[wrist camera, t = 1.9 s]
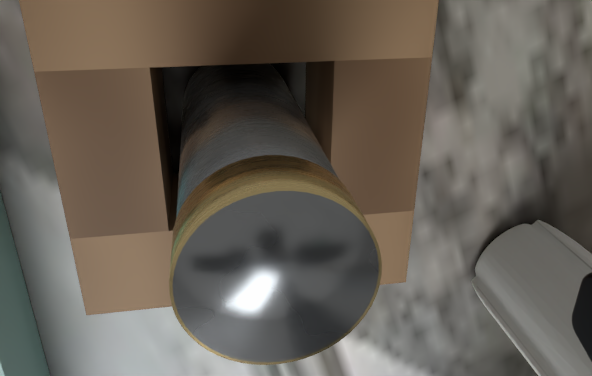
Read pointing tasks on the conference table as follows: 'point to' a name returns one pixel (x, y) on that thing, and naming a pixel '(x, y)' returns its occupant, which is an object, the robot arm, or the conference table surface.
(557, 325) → the photo printer
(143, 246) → the pin block
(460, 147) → the conference table surface
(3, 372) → the tray
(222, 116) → the steel pin
